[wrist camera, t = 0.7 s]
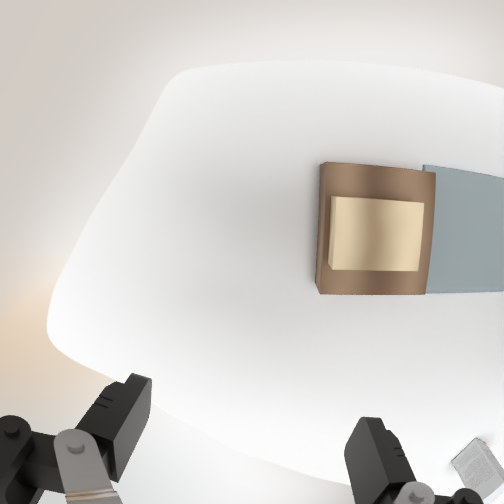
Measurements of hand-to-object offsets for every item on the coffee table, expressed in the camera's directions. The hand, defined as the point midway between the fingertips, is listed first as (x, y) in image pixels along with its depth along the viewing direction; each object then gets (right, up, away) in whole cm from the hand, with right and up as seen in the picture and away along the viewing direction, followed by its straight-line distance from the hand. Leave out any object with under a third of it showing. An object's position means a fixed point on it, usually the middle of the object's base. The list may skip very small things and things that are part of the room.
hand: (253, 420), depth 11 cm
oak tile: (+11, +8, +17) cm, 22 cm away
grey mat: (+27, +8, +20) cm, 34 cm away
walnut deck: (+12, +9, +21) cm, 26 cm away
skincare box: (+37, -28, +27) cm, 54 cm away
